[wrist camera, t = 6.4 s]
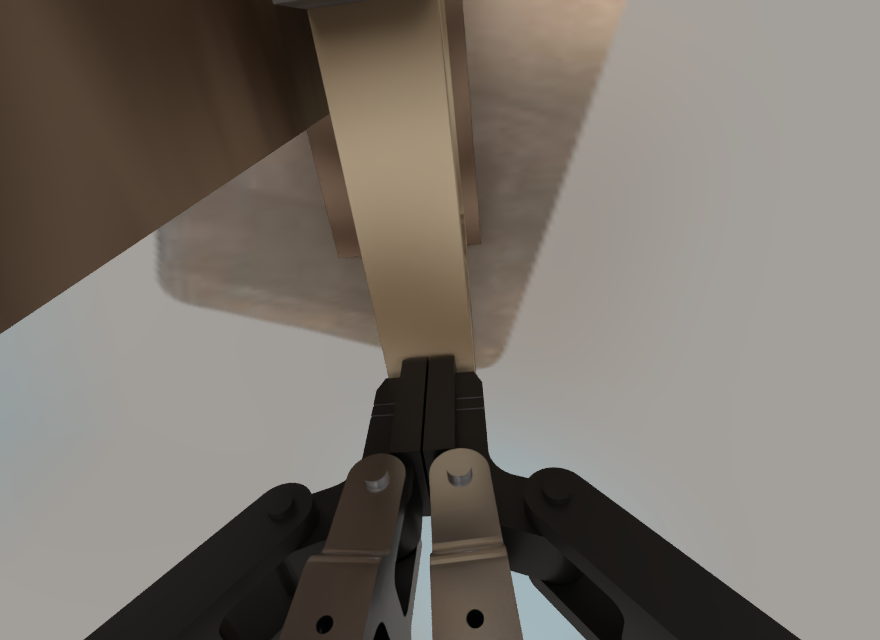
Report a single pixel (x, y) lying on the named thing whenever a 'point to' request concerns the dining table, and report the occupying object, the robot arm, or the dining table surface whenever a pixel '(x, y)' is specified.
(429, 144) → the frame
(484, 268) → the dining table surface
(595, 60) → the dining table surface
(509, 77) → the dining table surface
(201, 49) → the stand
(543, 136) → the dining table surface
